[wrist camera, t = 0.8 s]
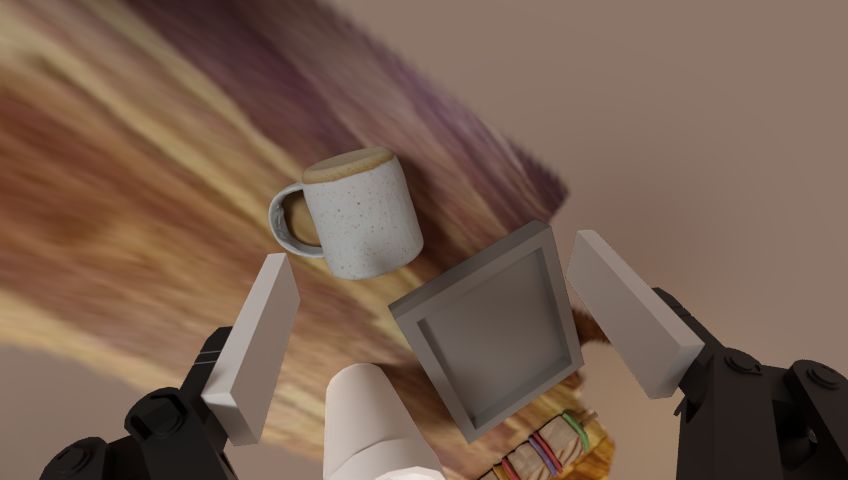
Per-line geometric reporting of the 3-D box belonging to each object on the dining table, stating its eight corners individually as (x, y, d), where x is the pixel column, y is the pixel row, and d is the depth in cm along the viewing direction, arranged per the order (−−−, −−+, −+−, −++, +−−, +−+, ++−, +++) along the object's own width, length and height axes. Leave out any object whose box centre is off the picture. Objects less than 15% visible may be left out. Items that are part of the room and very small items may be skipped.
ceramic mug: (381, 136, 28) (410, 147, 21) (407, 225, 32) (439, 258, 25) (250, 178, 26) (235, 204, 19) (293, 268, 29) (294, 317, 23)
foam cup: (331, 342, 33) (355, 466, 22) (413, 356, 37) (469, 466, 26) (297, 421, 35) (303, 573, 24) (379, 425, 39) (417, 556, 28)
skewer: (482, 496, 52) (500, 531, 48) (466, 477, 49) (484, 513, 44) (588, 412, 54) (614, 439, 50) (579, 390, 51) (607, 416, 47)
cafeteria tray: (387, 305, 34) (394, 319, 32) (535, 218, 37) (551, 225, 35) (459, 428, 44) (468, 444, 42) (570, 352, 47) (584, 364, 45)
